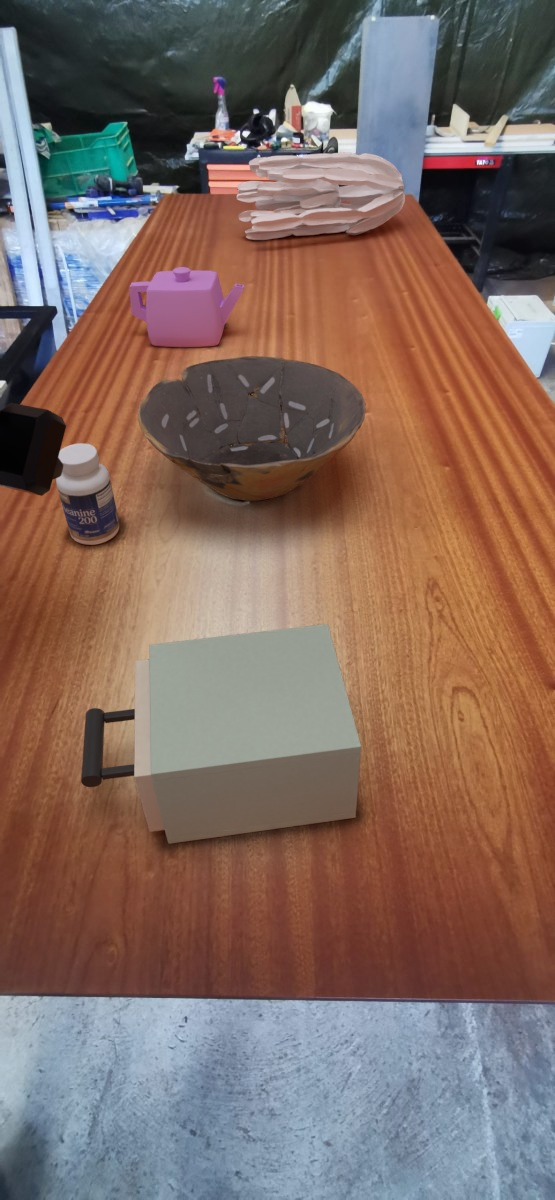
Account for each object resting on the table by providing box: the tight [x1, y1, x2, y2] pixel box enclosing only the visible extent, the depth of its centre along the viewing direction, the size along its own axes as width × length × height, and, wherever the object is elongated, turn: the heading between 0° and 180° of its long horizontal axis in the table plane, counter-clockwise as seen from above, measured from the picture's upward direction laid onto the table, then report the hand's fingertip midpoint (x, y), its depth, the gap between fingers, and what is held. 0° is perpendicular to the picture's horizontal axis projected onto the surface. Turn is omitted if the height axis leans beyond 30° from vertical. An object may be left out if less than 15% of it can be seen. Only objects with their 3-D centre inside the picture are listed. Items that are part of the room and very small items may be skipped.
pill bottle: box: [55, 442, 120, 546], centre depth 77 cm, size 5×5×10 cm
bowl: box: [137, 355, 366, 502], centre depth 83 cm, size 25×25×10 cm
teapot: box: [128, 266, 245, 348], centre depth 115 cm, size 18×10×10 cm, turn 86°
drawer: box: [80, 658, 165, 833], centre depth 54 cm, size 17×10×7 cm, turn 98°
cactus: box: [235, 151, 406, 241], centre depth 151 cm, size 17×18×35 cm
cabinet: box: [148, 623, 362, 845], centre depth 54 cm, size 14×12×9 cm
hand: (17, 461), depth 66 cm, fingers open, 9 cm apart
